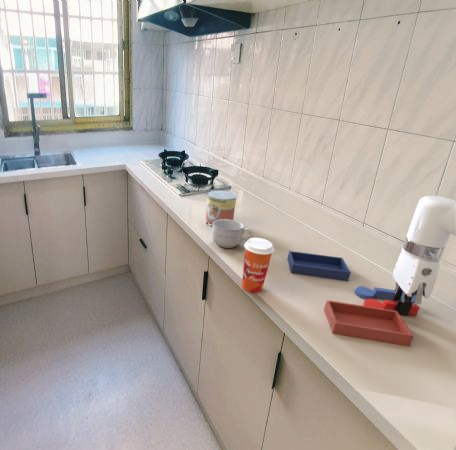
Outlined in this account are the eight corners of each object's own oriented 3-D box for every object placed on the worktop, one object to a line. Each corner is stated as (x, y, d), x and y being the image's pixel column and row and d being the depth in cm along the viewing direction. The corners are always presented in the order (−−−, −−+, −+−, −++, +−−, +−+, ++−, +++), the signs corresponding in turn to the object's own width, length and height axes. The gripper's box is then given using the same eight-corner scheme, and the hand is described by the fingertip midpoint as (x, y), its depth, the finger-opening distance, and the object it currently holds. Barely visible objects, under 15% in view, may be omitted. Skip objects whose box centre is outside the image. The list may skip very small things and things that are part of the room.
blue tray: (340, 265, 109) (342, 257, 108) (348, 281, 100) (350, 272, 99) (287, 258, 112) (289, 250, 111) (290, 273, 104) (292, 264, 102)
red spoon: (411, 308, 89) (414, 300, 88) (419, 319, 85) (422, 311, 84) (360, 301, 91) (363, 293, 90) (366, 311, 87) (369, 303, 86)
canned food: (199, 221, 139) (202, 193, 134) (216, 215, 146) (219, 188, 141) (221, 230, 131) (225, 201, 126) (238, 223, 138) (242, 195, 133)
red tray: (393, 320, 84) (397, 310, 83) (409, 346, 76) (414, 336, 75) (323, 309, 87) (326, 300, 86) (332, 333, 79) (335, 323, 78)
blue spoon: (399, 295, 94) (402, 288, 93) (407, 305, 90) (410, 298, 89) (352, 288, 97) (355, 281, 96) (357, 298, 93) (360, 290, 92)
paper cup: (236, 291, 94) (243, 246, 88) (240, 277, 100) (247, 234, 95) (265, 298, 91) (274, 252, 86) (267, 283, 98) (276, 240, 92)
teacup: (205, 245, 119) (207, 224, 116) (218, 234, 127) (220, 215, 124) (242, 257, 112) (246, 235, 109) (254, 245, 120) (257, 225, 117)
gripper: (460, 266, 72) (430, 334, 80) (424, 236, 86) (401, 296, 94) (420, 261, 74) (394, 328, 81) (391, 232, 88) (372, 292, 95)
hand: (398, 310), depth 87 cm, fingers closed on red spoon, 1 cm apart
